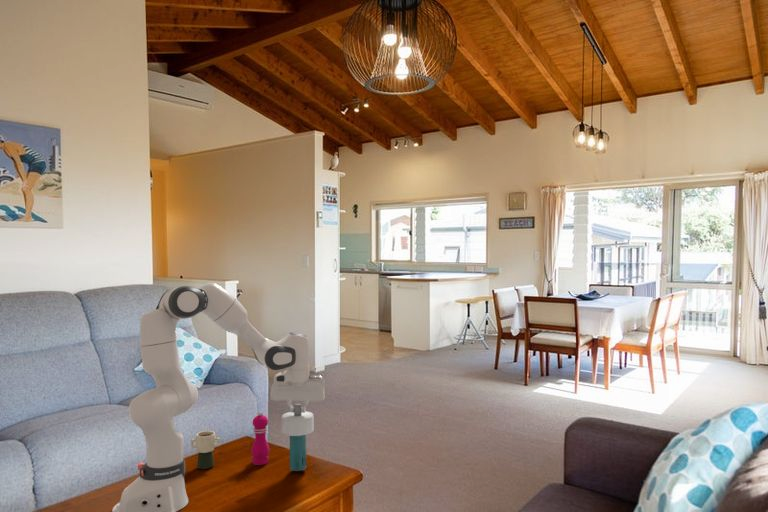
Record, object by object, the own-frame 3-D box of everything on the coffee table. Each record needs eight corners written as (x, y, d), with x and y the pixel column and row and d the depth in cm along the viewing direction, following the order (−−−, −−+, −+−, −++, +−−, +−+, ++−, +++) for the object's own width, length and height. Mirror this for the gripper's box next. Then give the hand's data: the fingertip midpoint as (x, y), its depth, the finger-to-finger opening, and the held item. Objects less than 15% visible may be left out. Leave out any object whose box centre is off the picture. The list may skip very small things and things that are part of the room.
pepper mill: (250, 459, 207) (250, 409, 207) (268, 457, 209) (268, 408, 210) (251, 466, 200) (251, 414, 201) (270, 464, 203) (270, 413, 203)
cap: (287, 437, 188) (287, 410, 188) (278, 428, 198) (278, 403, 198) (317, 432, 193) (317, 406, 194) (306, 424, 204) (306, 399, 204)
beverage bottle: (303, 475, 192) (303, 421, 192) (286, 474, 193) (286, 420, 193) (309, 468, 198) (309, 416, 198) (292, 467, 200) (292, 415, 200)
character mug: (221, 462, 204) (221, 429, 204) (218, 470, 197) (218, 435, 197) (192, 464, 202) (192, 431, 202) (188, 472, 195) (188, 437, 195)
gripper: (326, 374, 199) (326, 410, 199) (273, 373, 199) (273, 409, 199) (324, 377, 193) (323, 415, 192) (269, 377, 193) (269, 414, 193)
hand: (297, 412), depth 196 cm, fingers closed on cap, 3 cm apart
